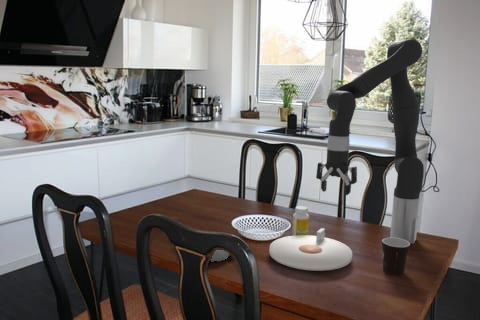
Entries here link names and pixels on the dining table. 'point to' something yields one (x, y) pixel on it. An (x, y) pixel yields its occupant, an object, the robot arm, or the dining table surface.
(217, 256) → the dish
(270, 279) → the dining table surface
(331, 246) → the disc
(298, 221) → the supplement bottle
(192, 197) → the dining table surface
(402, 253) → the coffee mug
